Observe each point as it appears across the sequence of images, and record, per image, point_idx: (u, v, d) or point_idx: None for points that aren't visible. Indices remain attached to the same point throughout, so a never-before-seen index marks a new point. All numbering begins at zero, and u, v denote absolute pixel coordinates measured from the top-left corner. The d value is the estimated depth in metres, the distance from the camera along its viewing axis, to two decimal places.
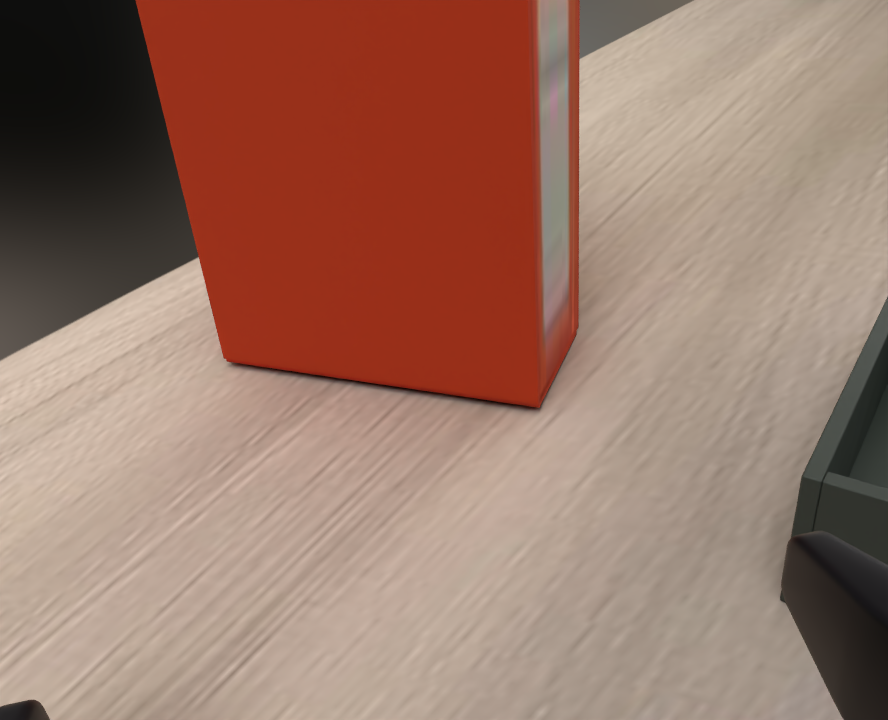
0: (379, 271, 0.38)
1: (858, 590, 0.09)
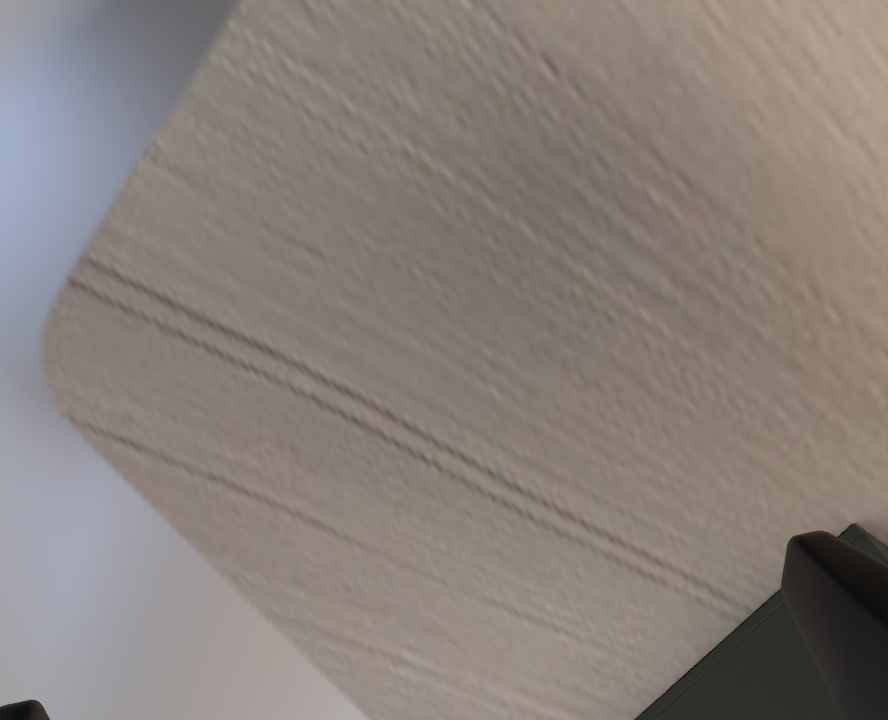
0: None
1: (858, 590, 0.09)
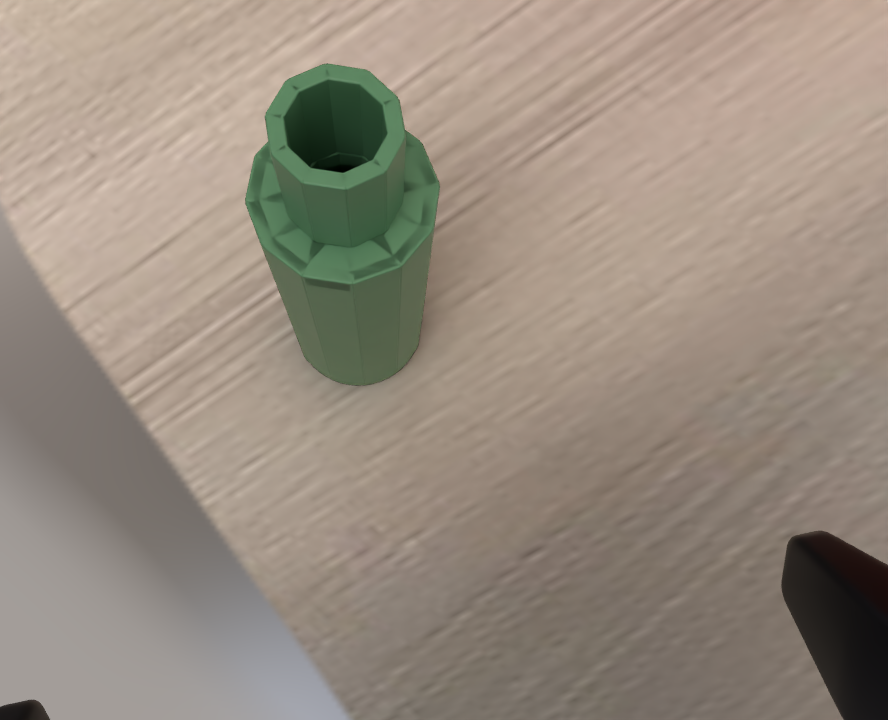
0: None
1: (858, 590, 0.09)
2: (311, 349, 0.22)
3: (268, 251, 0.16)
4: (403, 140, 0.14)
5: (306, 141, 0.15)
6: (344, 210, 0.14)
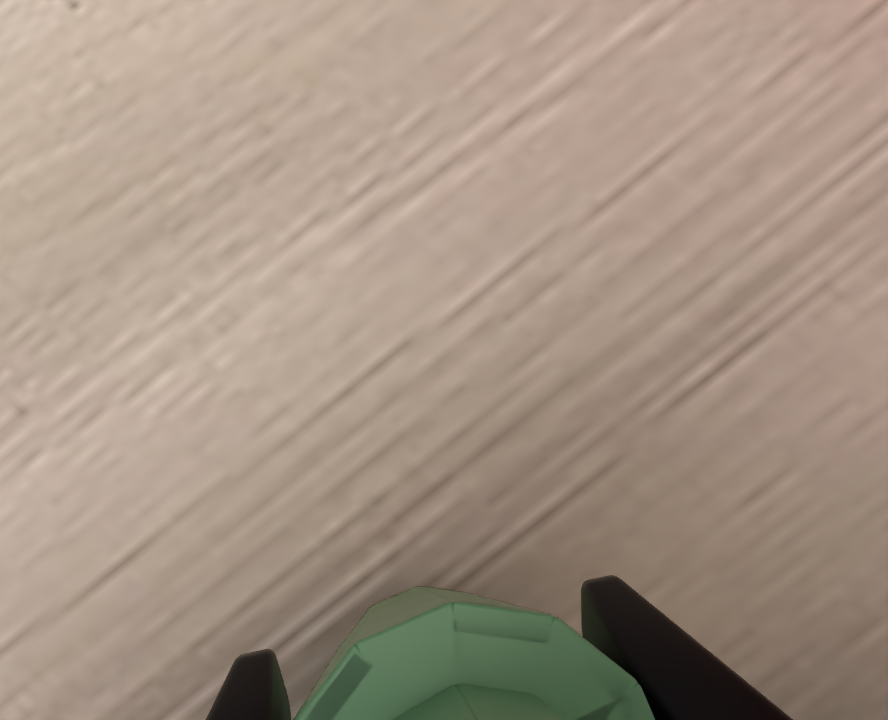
0: None
1: (625, 642, 0.09)
2: None
3: None
4: None
5: None
6: None
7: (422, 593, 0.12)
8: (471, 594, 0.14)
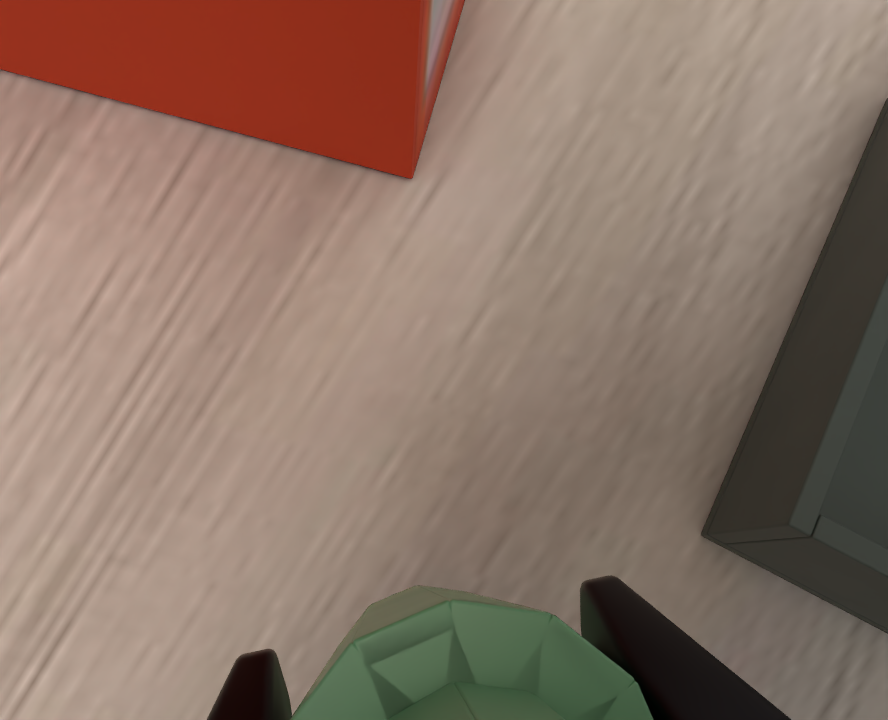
0: None
1: (624, 642, 0.09)
2: None
3: None
4: None
5: None
6: None
7: (420, 592, 0.12)
8: (469, 593, 0.14)
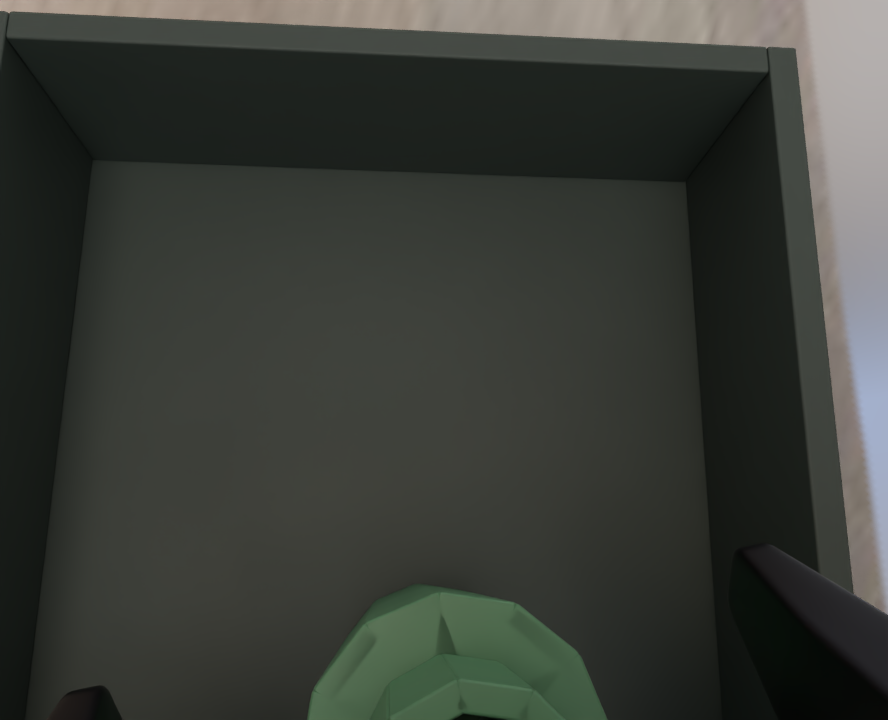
0: None
1: (795, 604, 0.09)
2: None
3: None
4: None
5: None
6: None
7: (418, 588, 0.14)
8: (460, 590, 0.17)
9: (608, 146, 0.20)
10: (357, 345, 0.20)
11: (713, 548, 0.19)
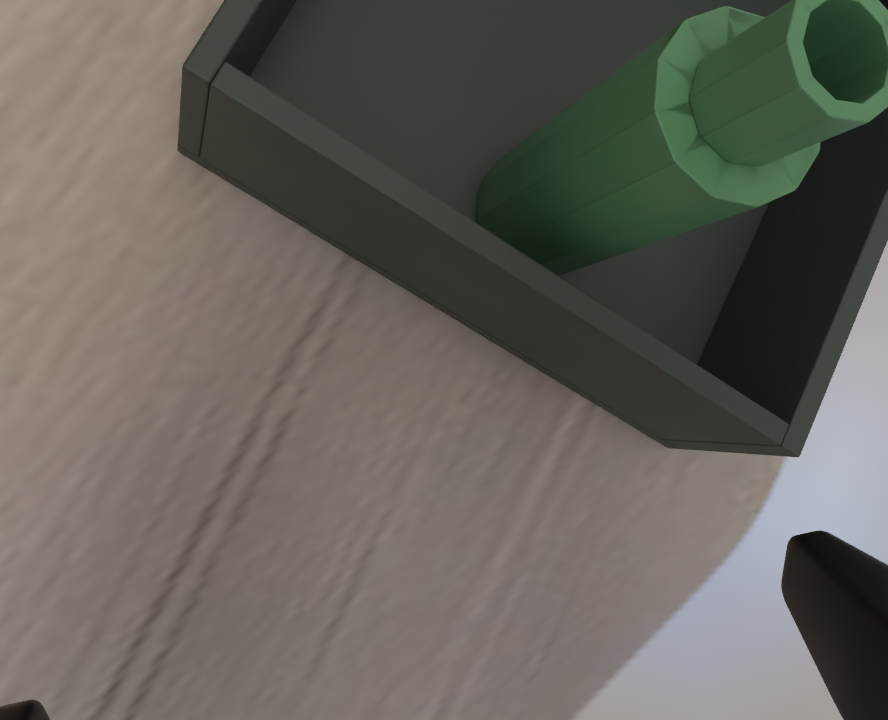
0: None
1: (858, 590, 0.09)
2: (517, 216, 0.21)
3: (656, 119, 0.15)
4: None
5: None
6: (790, 131, 0.14)
7: None
8: None
9: None
10: None
11: (748, 256, 0.26)
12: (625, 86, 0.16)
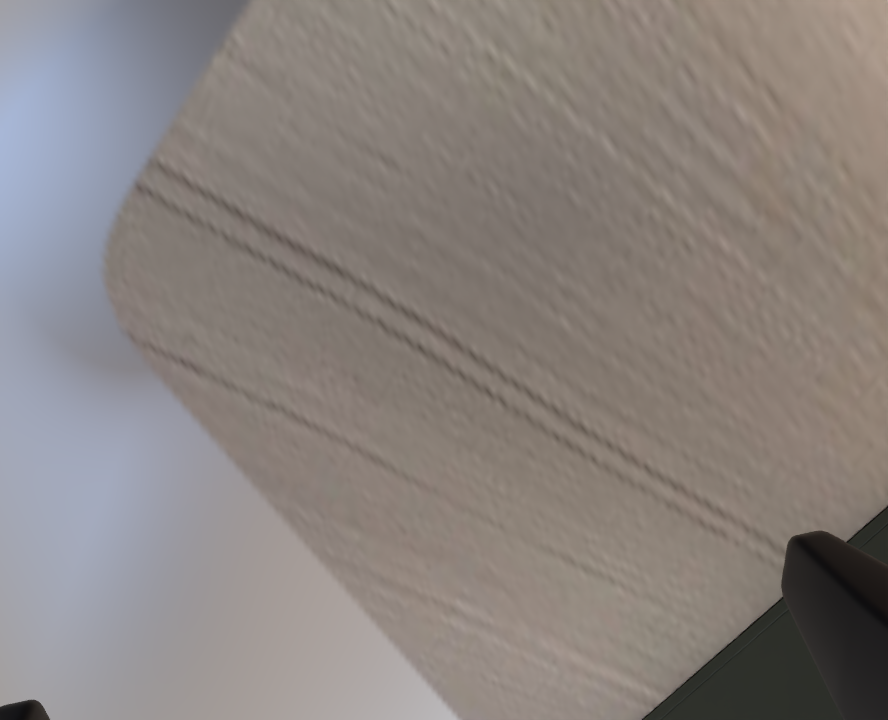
0: None
1: (858, 590, 0.09)
2: None
3: None
4: None
5: None
6: None
7: None
8: None
9: None
10: None
11: None
12: None
